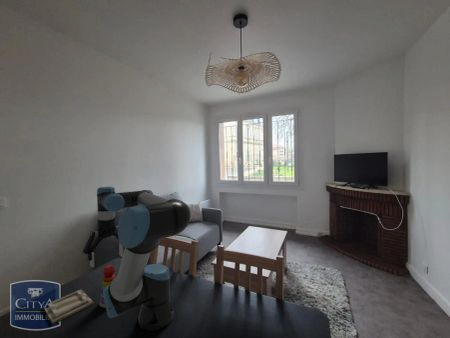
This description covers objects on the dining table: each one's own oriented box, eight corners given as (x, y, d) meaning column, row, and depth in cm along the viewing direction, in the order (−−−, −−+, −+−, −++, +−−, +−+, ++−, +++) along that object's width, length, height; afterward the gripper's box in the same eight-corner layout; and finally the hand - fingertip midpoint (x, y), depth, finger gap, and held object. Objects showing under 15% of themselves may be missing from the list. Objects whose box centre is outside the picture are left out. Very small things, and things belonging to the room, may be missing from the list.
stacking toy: (109, 309, 99) (108, 271, 98) (95, 307, 100) (94, 269, 99) (121, 298, 106) (120, 263, 106) (107, 296, 108) (107, 261, 107)
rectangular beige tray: (93, 304, 102) (93, 299, 102) (52, 324, 90) (52, 319, 90) (81, 291, 112) (81, 287, 112) (42, 308, 99) (42, 303, 99)
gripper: (127, 212, 114) (128, 250, 115) (73, 223, 94) (75, 268, 95) (134, 214, 109) (135, 253, 110) (79, 226, 89) (81, 274, 90)
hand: (107, 260), depth 102 cm, fingers open, 13 cm apart
